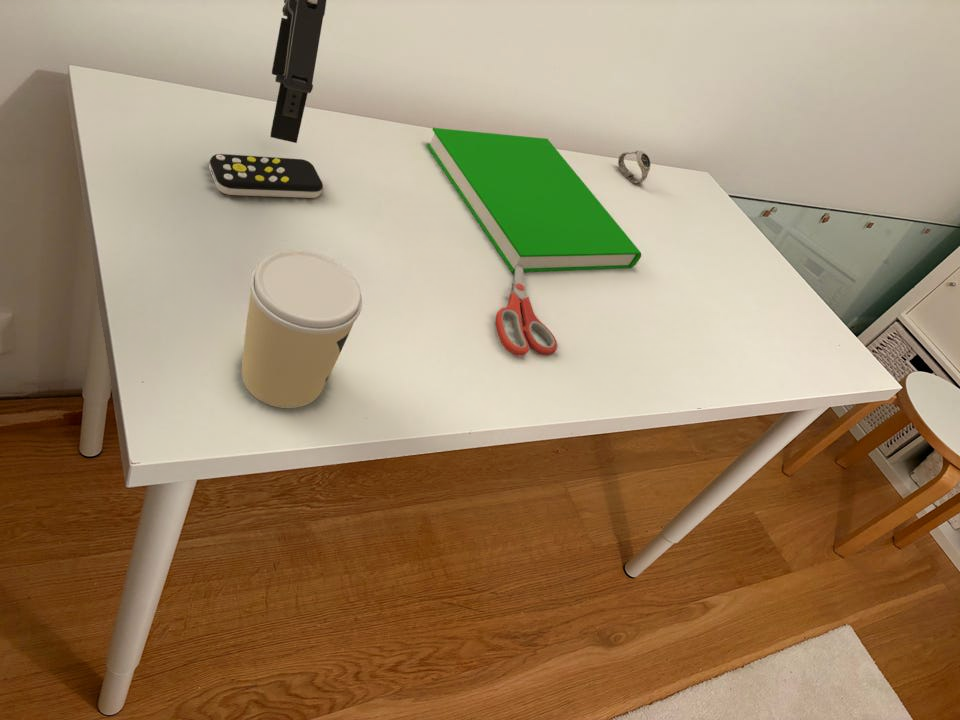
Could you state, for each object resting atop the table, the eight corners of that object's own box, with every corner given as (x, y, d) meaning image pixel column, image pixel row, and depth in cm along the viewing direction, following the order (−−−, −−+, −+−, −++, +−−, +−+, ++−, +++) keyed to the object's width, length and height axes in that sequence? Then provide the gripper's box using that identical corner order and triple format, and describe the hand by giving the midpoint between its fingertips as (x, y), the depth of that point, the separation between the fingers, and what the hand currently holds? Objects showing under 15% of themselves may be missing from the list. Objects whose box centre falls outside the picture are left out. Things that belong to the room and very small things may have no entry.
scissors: (522, 247, 98) (526, 239, 97) (559, 364, 85) (564, 356, 84) (470, 236, 95) (474, 228, 94) (500, 356, 82) (505, 348, 81)
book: (512, 272, 94) (521, 255, 92) (426, 145, 109) (433, 127, 107) (633, 268, 107) (643, 252, 105) (542, 154, 121) (550, 139, 119)
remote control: (323, 200, 90) (327, 187, 88) (218, 196, 83) (220, 182, 81) (308, 170, 93) (311, 156, 92) (205, 164, 86) (207, 149, 84)
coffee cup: (342, 413, 68) (377, 324, 60) (240, 419, 63) (263, 323, 56) (320, 340, 73) (349, 250, 66) (224, 341, 69) (243, 244, 61)
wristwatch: (634, 187, 126) (649, 163, 122) (610, 166, 128) (624, 142, 125) (645, 185, 128) (660, 161, 125) (621, 164, 130) (635, 140, 127)
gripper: (374, -34, 60) (320, 176, 74) (355, -126, 76) (314, 61, 90) (283, -64, 57) (244, 160, 71) (283, -153, 74) (251, 44, 88)
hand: (283, 105), depth 81 cm, fingers open, 13 cm apart
